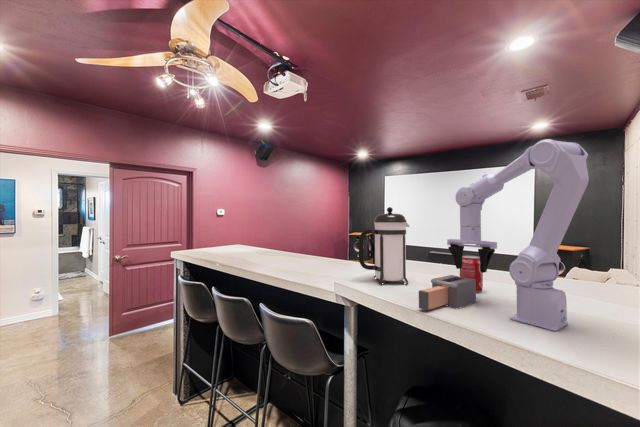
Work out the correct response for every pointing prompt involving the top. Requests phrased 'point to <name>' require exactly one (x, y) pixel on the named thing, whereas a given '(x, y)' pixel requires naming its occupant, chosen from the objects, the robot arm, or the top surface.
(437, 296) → the orange and gray block
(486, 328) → the top surface
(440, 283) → the box
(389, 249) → the coffee press
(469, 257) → the soda can
